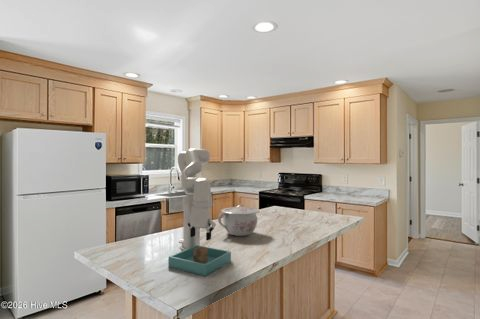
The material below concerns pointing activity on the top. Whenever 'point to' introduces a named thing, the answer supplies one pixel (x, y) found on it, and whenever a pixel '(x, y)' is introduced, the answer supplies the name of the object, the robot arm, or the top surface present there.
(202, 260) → the walnut block
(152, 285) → the top surface
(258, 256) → the top surface
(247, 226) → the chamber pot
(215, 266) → the bin
